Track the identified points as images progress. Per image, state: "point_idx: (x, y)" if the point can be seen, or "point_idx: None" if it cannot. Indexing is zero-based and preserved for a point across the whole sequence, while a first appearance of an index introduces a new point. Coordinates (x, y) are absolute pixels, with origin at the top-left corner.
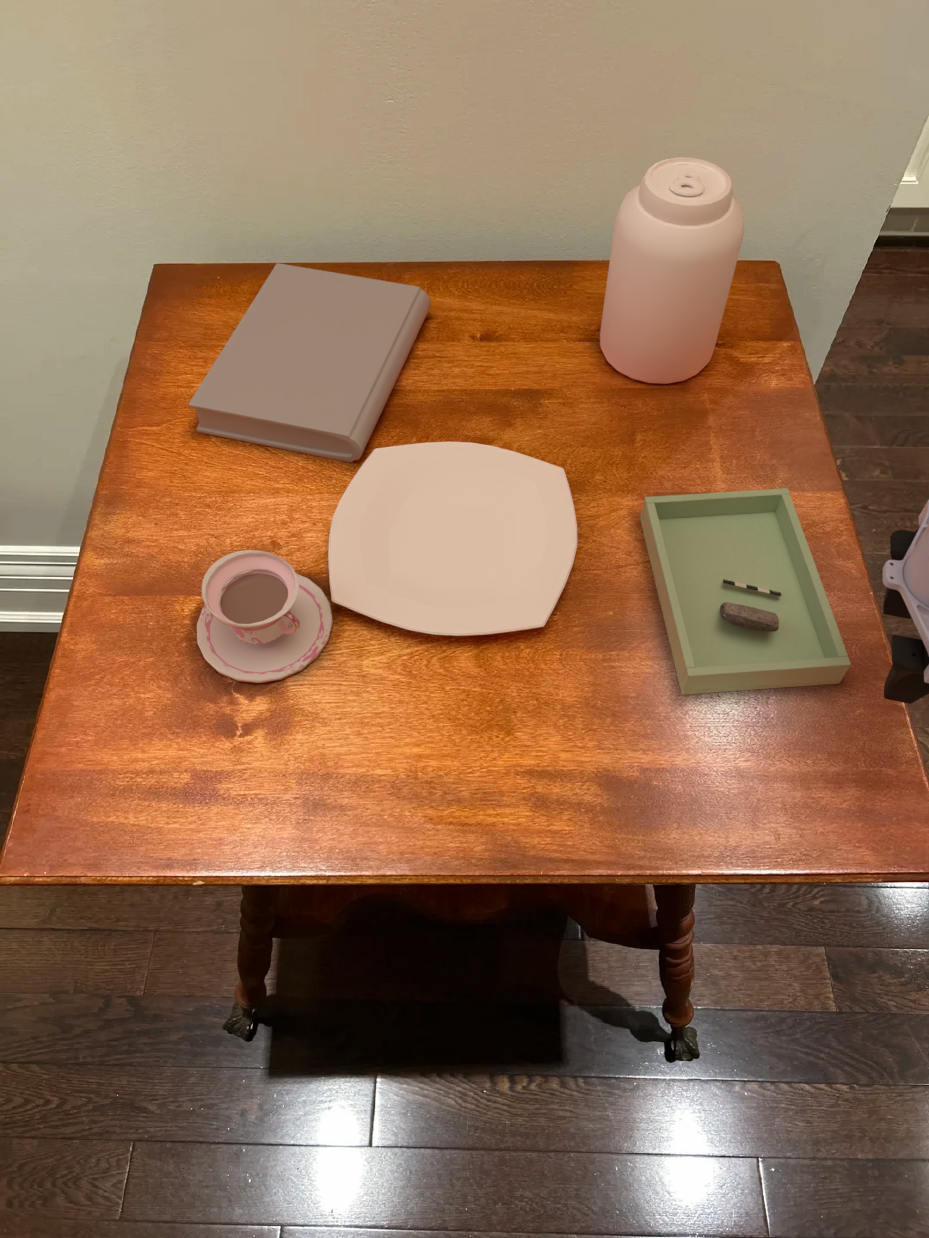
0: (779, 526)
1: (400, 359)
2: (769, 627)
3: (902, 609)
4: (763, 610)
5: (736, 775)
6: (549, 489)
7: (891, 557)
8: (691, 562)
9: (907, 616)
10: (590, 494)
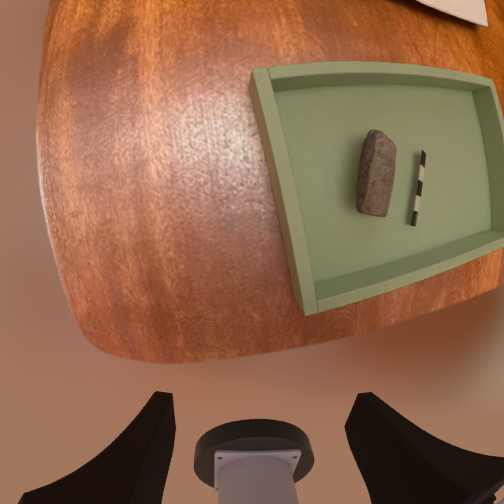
0: (480, 232)
1: None
2: (360, 198)
3: (358, 428)
4: (389, 197)
5: (136, 162)
6: (466, 5)
7: (465, 489)
8: (439, 121)
9: (347, 426)
10: (475, 49)
